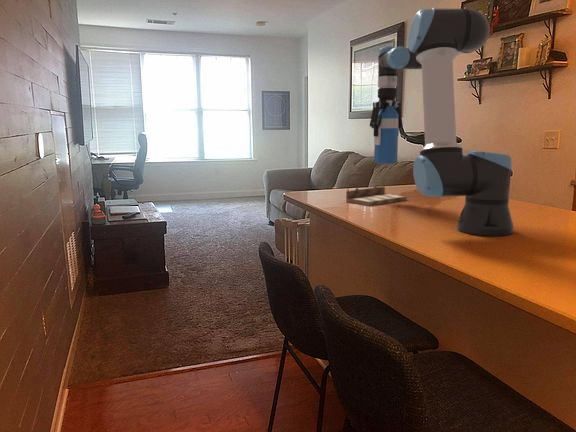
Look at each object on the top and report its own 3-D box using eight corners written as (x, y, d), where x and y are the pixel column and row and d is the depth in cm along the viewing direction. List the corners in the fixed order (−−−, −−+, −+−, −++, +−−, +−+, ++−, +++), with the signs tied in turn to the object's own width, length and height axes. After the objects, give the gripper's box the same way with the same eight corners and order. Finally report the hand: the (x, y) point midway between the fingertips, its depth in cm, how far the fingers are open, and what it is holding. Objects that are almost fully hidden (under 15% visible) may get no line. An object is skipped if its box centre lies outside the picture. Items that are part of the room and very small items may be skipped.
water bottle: (395, 161, 192) (397, 101, 187) (398, 163, 183) (400, 99, 178) (373, 162, 193) (374, 101, 188) (375, 163, 184) (376, 100, 179)
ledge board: (368, 206, 178) (369, 192, 177) (346, 201, 189) (346, 189, 188) (406, 200, 190) (406, 187, 189) (382, 196, 201) (383, 184, 200)
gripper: (374, 86, 173) (373, 145, 177) (413, 88, 185) (411, 143, 189) (360, 87, 179) (359, 145, 183) (399, 89, 191) (397, 143, 196)
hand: (386, 144), depth 186 cm, fingers closed on water bottle, 9 cm apart
